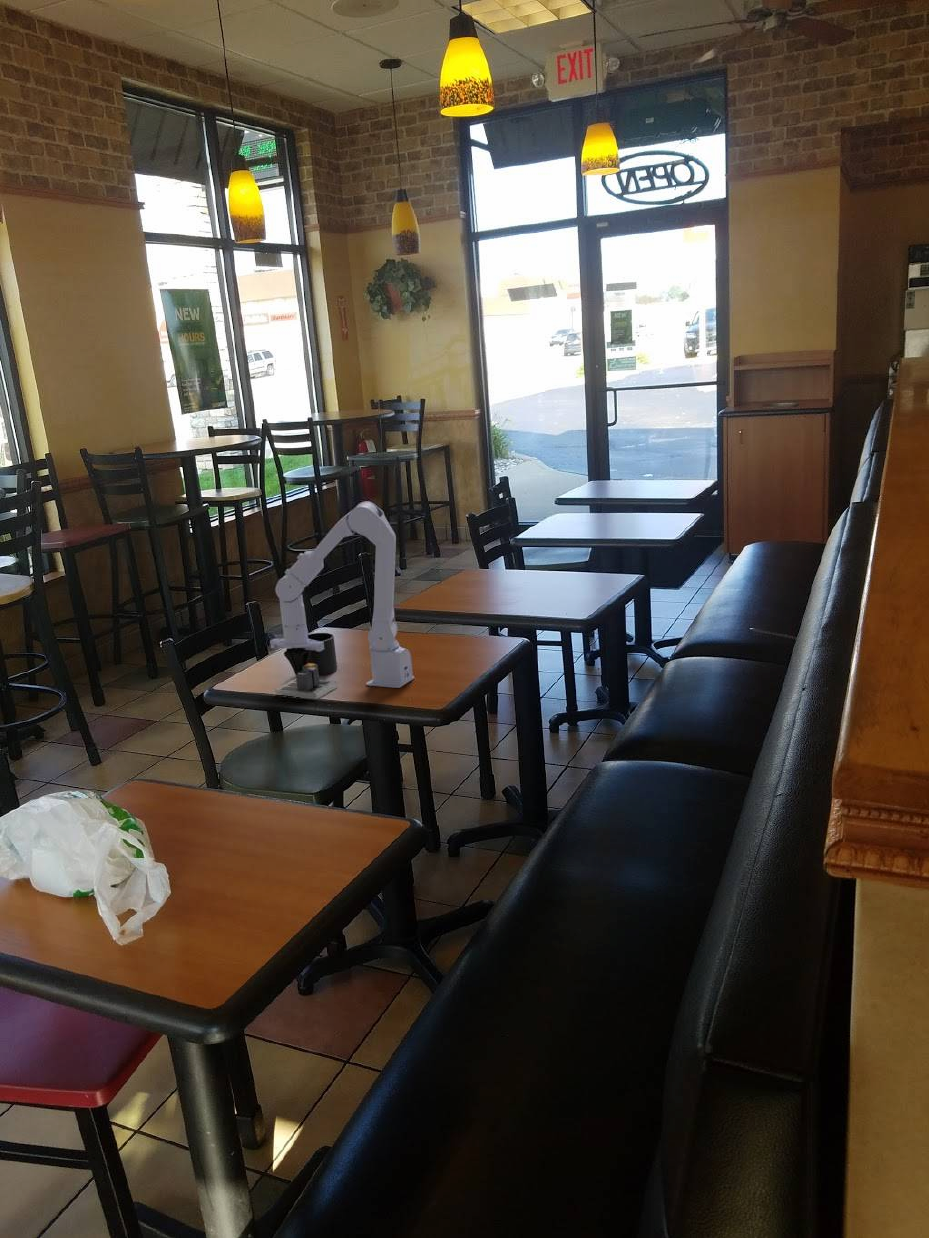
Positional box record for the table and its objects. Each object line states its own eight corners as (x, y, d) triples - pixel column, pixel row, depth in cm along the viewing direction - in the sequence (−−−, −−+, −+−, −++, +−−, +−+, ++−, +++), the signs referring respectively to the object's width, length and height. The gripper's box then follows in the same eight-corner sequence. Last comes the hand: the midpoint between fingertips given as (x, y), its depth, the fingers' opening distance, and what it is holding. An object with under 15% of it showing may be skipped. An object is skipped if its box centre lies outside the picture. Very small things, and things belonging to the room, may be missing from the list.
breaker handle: (319, 679, 235) (317, 663, 234) (314, 682, 233) (312, 666, 232) (309, 679, 237) (307, 662, 235) (303, 681, 235) (301, 665, 234)
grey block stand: (337, 687, 234) (334, 663, 233) (316, 699, 227) (313, 675, 225) (297, 683, 240) (294, 660, 238) (275, 695, 232) (272, 671, 230)
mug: (345, 662, 254) (342, 629, 252) (330, 676, 243) (326, 642, 241) (312, 662, 256) (308, 630, 254) (295, 677, 245) (291, 643, 243)
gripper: (260, 626, 232) (267, 679, 236) (309, 629, 226) (316, 684, 229) (277, 619, 238) (284, 671, 242) (326, 621, 232) (332, 675, 236)
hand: (300, 677), depth 236 cm, fingers closed
